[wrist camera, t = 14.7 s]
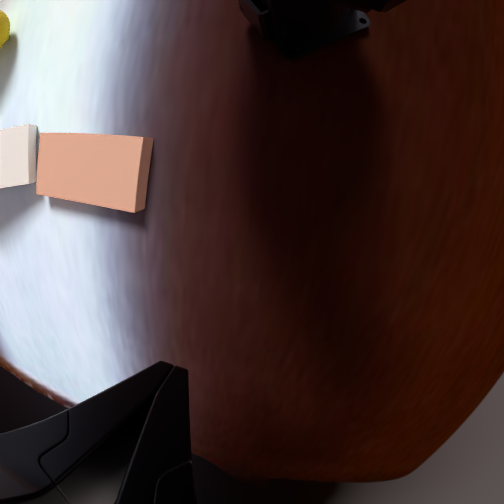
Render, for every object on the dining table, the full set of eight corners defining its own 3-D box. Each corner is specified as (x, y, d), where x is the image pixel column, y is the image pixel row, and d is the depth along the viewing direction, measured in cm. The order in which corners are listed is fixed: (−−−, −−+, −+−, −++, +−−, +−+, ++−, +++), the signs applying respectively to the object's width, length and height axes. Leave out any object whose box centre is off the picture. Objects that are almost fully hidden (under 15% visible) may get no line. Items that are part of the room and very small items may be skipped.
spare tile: (143, 137, 17) (40, 133, 18) (134, 212, 19) (36, 194, 20) (156, 138, 19) (56, 132, 20) (147, 207, 21) (51, 190, 21)
